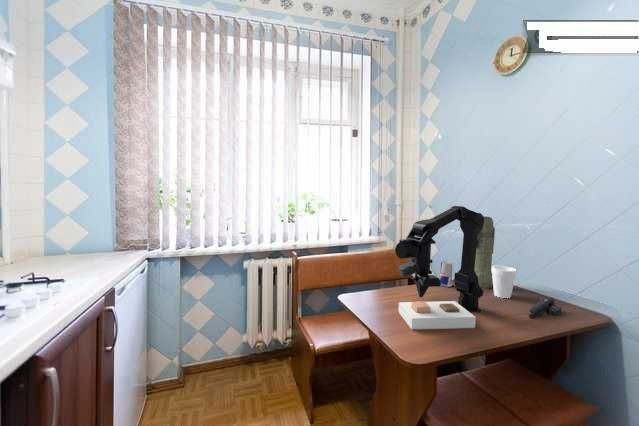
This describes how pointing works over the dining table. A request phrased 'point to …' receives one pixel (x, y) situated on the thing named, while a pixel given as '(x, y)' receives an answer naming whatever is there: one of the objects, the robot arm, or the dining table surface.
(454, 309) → the walnut key
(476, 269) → the thermos
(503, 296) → the foam cup
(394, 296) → the dining table surface
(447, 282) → the energy drink
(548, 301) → the can opener
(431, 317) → the key panel
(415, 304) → the terracotta key
